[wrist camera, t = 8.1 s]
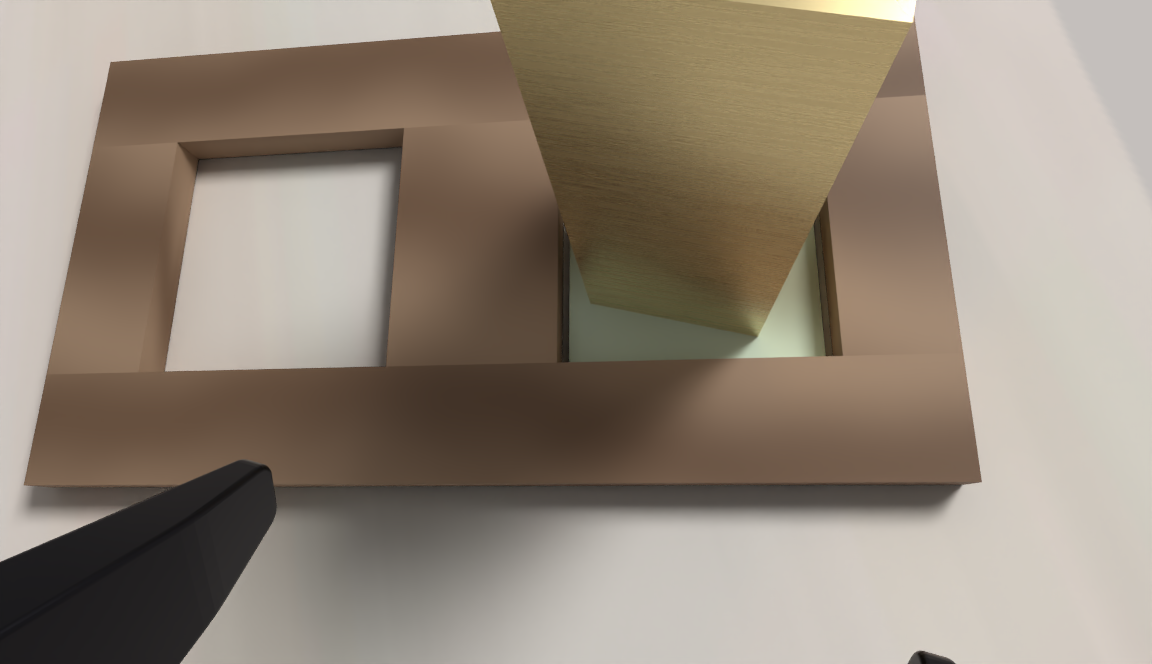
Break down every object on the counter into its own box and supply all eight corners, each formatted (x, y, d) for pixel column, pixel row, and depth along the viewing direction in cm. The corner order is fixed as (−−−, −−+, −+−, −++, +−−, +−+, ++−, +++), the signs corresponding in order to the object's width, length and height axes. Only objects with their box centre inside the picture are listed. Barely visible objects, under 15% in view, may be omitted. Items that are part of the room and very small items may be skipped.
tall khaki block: (757, 337, 18) (912, 22, 7) (590, 303, 19) (480, -28, 8) (787, 181, 19) (963, -314, 8) (627, 156, 20) (578, -329, 9)
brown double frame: (963, 484, 17) (981, 481, 16) (54, 487, 20) (23, 485, 19) (900, 23, 20) (911, -1, 20) (133, 81, 23) (110, 62, 22)
